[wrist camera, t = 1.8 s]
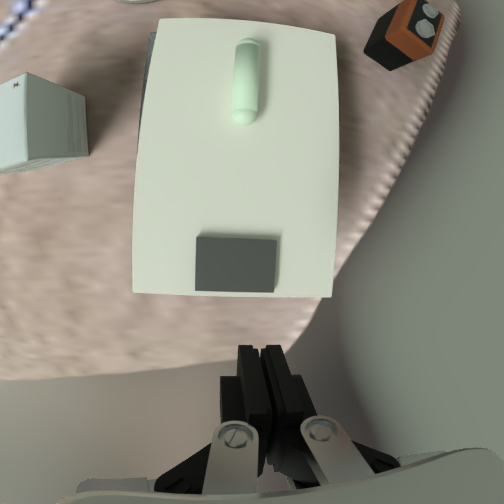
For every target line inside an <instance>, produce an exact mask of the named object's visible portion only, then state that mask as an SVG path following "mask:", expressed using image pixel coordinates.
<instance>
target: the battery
mask: <svg viewBox="0 0 504 504" xmlns="http://www.w3.org/2000/svg"><path fill="white" fill-rule="evenodd" d="M443 21H444V15H443V14H442V13H440V12H439V11H438V9H437V8H436V6H434V5H433V4H431V3H429V2H427V1H426V0H404V1H402V2H401V3H400V4H398V5H397V6H395V7H394V8H393V9H391V10H390V11H389V12H387V13H386V14H384V15H383V16H382V17H380V18H379V19H378V21H377V23H376V25H375V27H374V29H373V31H372V33H371V36H370V38H369V40H368V42H367V44H366V46H365V48H364V53H365V54H366V55H367V56H369V57H370V58H372V59H373V60H375V61H376V62H378V63H379V64H380V65H382V66H383V67H385V68H386V69H388V70H389V71H392V70H394V69H397V68H399V67H401V66H404V65H406V64H408V63H411V62H413V61H416V60H418V59H420V58H423V57H425V56H428V55H431V54H433V52H434V50H435V47H436V44H437V40H438V37H439V34H440V31H441V28H442V24H443Z"/></svg>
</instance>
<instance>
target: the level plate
mask: <svg viewBox="0 0 504 504" xmlns="http://www.w3.org/2000/svg"><path fill="white" fill-rule="evenodd" d="M338 185H339V100H338V75H337V57H336V42H335V35H334V34H329V33H325V32H320V31H315V30H310V29H305V28H300V27H294V26H288V25H281V24H274V23H266V22H257V21H247V20H234V19H215V18H170V19H160V21H159V25H158V29H157V33H156V38H155V42H154V47H153V52H152V57H151V62H150V67H149V73H148V79H147V84H146V90H145V97H144V104H143V111H142V118H141V126H140V134H139V143H138V153H137V164H136V176H135V190H134V209H133V241H132V278H133V292H134V293H152V294H173V295H198V296H233V297H331V295H332V284H333V273H334V261H335V247H336V231H337V212H338Z"/></svg>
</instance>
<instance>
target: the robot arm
mask: <svg viewBox="0 0 504 504" xmlns="http://www.w3.org/2000/svg"><path fill="white" fill-rule="evenodd" d="M116 1H119V2H123V3H130V4H139V3H148V2H153V1H157V0H116ZM220 417H221V424H220V425H219V426H218V427H217V428H216V429H215V431H214V433H213V438H212V442H211V443H210V444H209V445H207V446H206V447H204V448H203V449H201V450H200V451H198V452H197V453H196V454H194V455H192V456H191V457H189V458H188V459H186V460H185V461H183V462H182V463H180V464H179V465H177V466H175V467H174V468H172V469H171V470H169V471H167V472H166V473H164V474H162V475H161V476H160V477H159V478H158V479H154V480H147V478H146V477H145V478H124V479H87V480H85V481H83V482H81V483H80V484H79V485H78V487H77V491H76V493H74V494H70V495H67V496H65V497H63V498H61V499H60V500H59V501H58V502H57V503H56V504H504V460H503V459H502V458H501V457H500V456H499V455H497V454H496V453H495V452H493V451H492V450H489V449H486V448H464V449H458V450H453V451H449V452H445V451H437V452H429V453H422V454H414V455H403V456H399V457H398V459H395V458H394V457H392V456H390V455H388V454H385V453H382V452H380V451H377V450H375V449H371V448H369V447H367V446H364V445H362V444H359V443H357V442H354V441H352V440H350V438H349V437H348V435H347V434H346V433H345V431H344V430H343V428H342V427H341V426H340V424H339V423H338V422H337V421H335V420H334V419H332V418H329V417H326V416H317V413H316V411H315V408H314V406H313V403H312V401H311V398H310V396H309V393H308V391H307V389H306V386H305V384H304V381H303V379H302V377H301V375H291V373H290V370H289V367H288V365H287V362H286V359H285V356H284V353H283V351H282V348H281V345H266V348H263V349H261V354H260V356H259V352H258V349H253V346H252V345H239V346H238V360H237V376H220ZM265 458H267V463H268V465H273V467H274V472H279V471H280V472H281V473H283V474H284V475H286V476H287V481H288V484H289V486H290V488H291V490H289V491H281V492H269V493H257V478H258V477H259V476H260V475H261V474H262V472H263V466H264V463H265Z"/></svg>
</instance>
